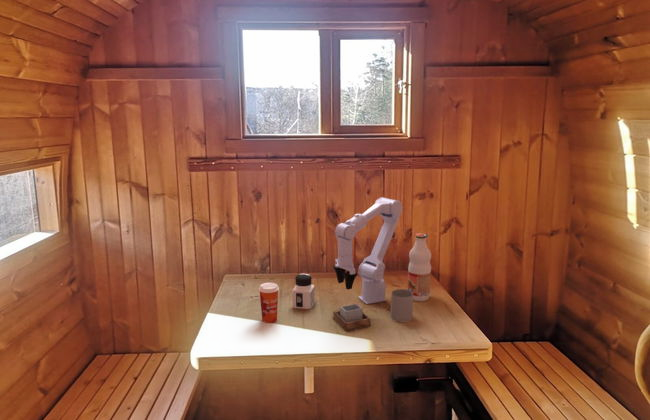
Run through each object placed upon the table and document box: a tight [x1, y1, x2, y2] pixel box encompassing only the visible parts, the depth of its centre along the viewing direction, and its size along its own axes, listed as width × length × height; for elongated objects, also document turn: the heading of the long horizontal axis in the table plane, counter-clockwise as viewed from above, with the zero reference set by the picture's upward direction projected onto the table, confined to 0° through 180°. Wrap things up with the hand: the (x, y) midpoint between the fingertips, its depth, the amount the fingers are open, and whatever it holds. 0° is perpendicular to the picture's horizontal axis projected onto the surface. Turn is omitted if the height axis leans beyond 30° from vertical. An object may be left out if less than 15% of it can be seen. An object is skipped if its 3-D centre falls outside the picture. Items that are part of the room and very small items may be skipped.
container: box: [291, 273, 316, 310], centre depth 205 cm, size 8×8×13 cm
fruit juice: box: [407, 232, 432, 302], centre depth 210 cm, size 9×9×28 cm
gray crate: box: [339, 303, 364, 322], centre depth 189 cm, size 7×5×6 cm
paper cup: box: [258, 282, 280, 324], centre depth 191 cm, size 8×8×14 cm
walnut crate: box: [332, 310, 371, 332], centre depth 190 cm, size 10×11×3 cm
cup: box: [390, 288, 414, 323], centre depth 193 cm, size 8×8×10 cm
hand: (344, 285), depth 200 cm, fingers open, 7 cm apart
